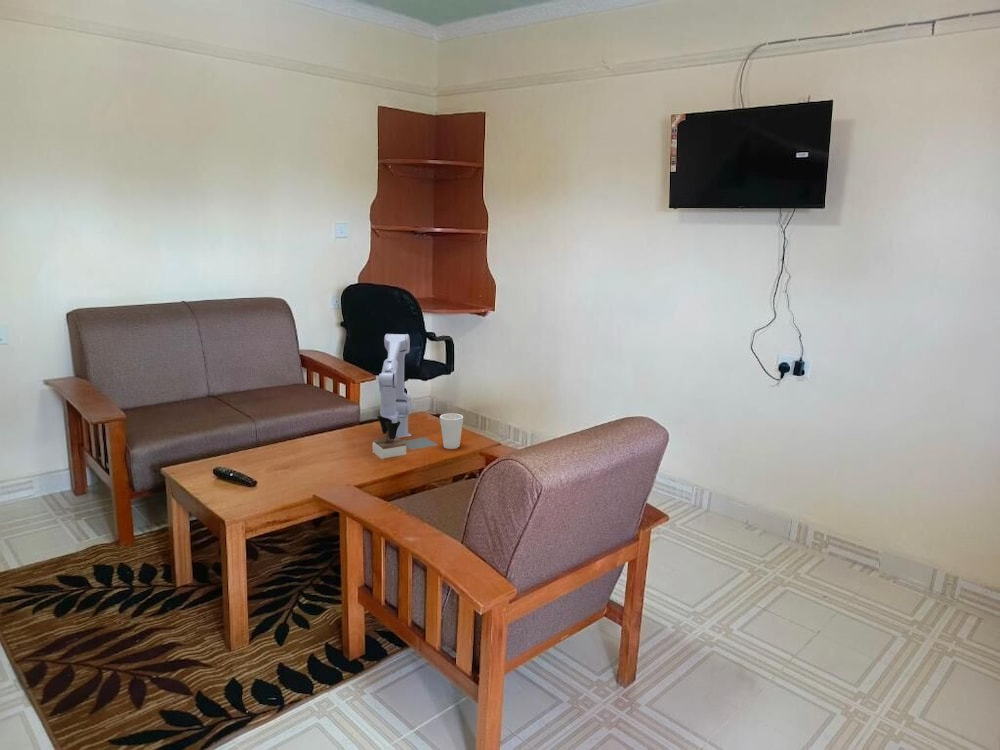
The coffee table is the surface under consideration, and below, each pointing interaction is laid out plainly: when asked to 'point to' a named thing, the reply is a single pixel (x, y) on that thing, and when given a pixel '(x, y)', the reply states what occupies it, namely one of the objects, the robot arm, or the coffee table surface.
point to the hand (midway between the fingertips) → (389, 436)
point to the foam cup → (451, 430)
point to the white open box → (388, 451)
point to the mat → (419, 443)
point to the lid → (389, 442)
